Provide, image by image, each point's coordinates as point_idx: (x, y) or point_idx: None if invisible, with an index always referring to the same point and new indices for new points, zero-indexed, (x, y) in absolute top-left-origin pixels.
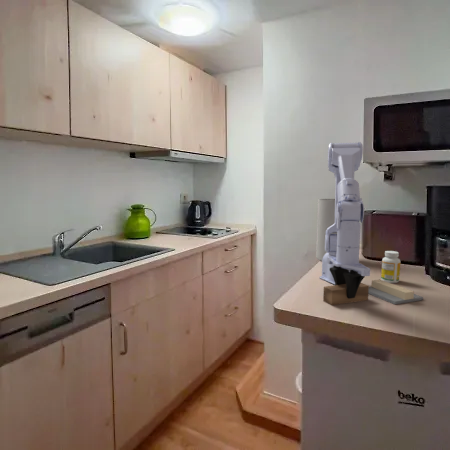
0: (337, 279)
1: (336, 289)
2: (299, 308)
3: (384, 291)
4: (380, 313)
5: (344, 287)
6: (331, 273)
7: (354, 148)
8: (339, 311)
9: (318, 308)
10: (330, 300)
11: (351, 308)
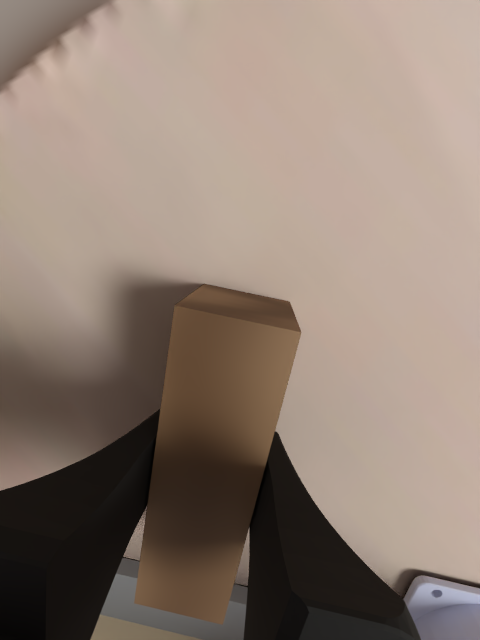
0: (270, 511)
1: (177, 362)
2: (281, 12)
3: (174, 636)
4: (5, 404)
5: (185, 456)
6: (359, 560)
7: None
8: (106, 243)
9: (206, 159)
10: (211, 291)
11: (113, 343)
